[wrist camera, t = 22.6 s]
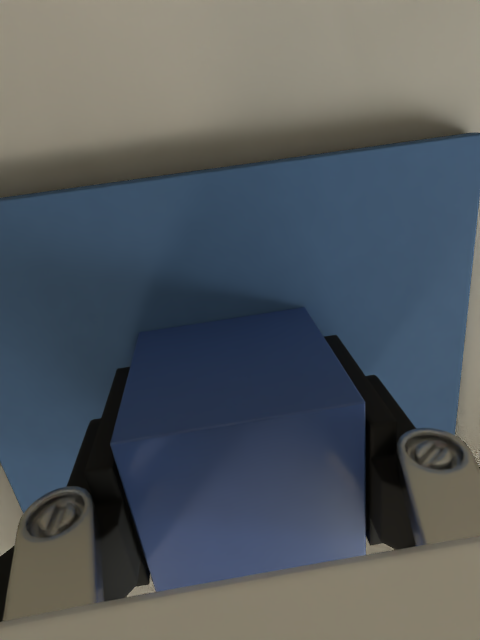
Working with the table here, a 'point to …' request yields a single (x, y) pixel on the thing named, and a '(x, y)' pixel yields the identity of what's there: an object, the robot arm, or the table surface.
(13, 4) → the table surface
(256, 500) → the blue block
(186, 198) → the blue mat
